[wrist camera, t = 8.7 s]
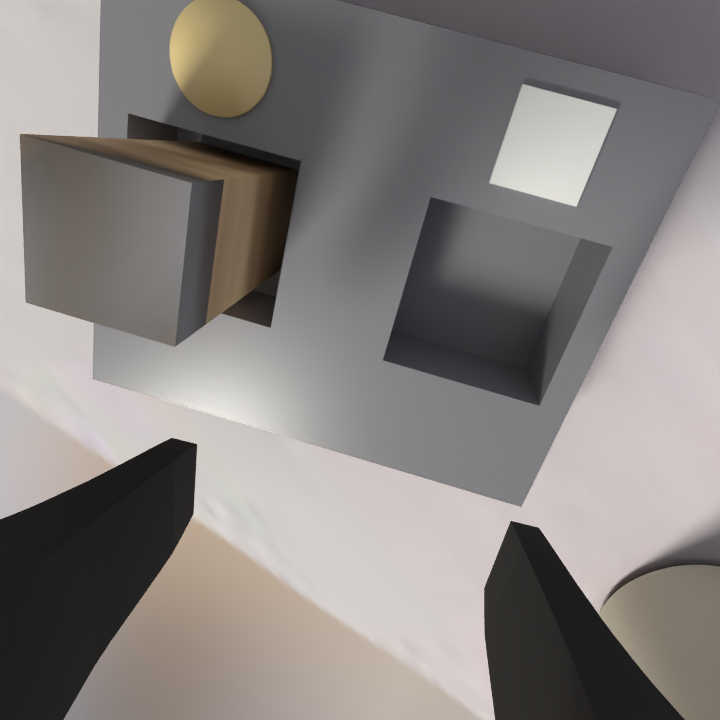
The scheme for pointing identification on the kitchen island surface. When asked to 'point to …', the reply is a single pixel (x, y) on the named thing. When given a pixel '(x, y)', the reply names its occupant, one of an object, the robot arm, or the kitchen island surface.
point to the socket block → (401, 225)
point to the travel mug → (673, 634)
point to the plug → (148, 230)
